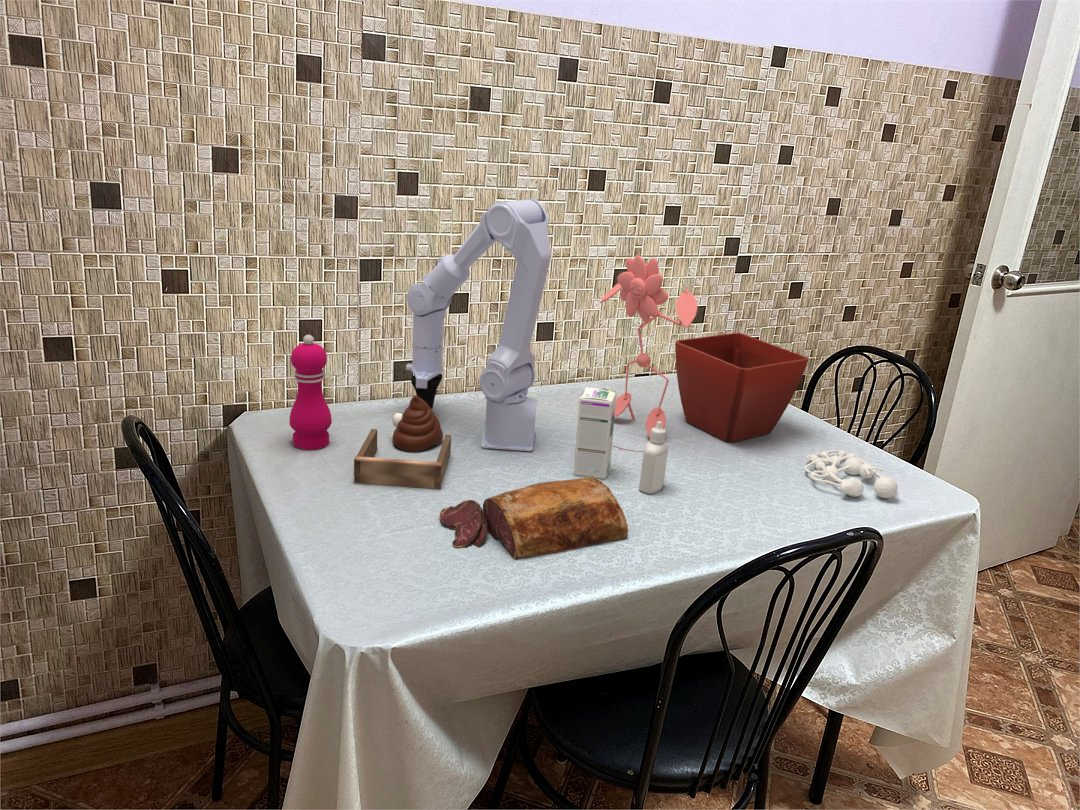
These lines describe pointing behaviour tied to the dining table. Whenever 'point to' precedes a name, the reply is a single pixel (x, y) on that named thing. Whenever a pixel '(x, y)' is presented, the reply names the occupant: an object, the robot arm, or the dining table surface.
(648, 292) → the figurine
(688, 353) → the plant pot
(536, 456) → the dining table surface
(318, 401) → the pepper mill
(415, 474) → the frame
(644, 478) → the eye dropper bottle
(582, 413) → the syrup box
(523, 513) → the cured meat
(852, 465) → the tangled rod sculpture
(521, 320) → the robot arm
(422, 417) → the poop emoji
